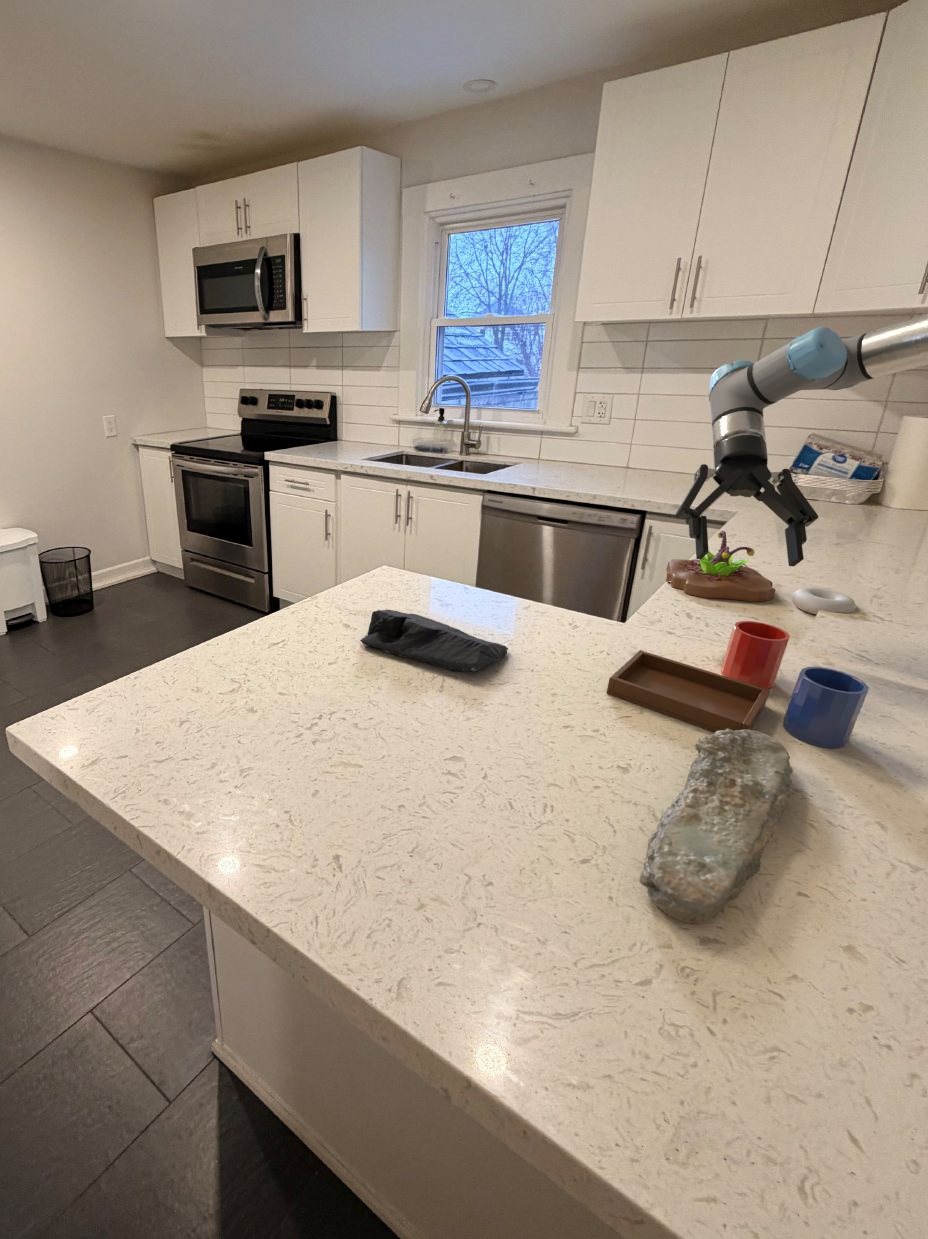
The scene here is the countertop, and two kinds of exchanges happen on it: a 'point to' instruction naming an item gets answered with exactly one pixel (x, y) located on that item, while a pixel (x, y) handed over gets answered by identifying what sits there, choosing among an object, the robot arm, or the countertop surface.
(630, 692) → the tray
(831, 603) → the donut
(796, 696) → the blue cup
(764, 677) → the red cup
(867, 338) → the robot arm
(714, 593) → the plant
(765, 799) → the elongated rock
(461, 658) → the folded black pouch
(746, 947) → the countertop surface
